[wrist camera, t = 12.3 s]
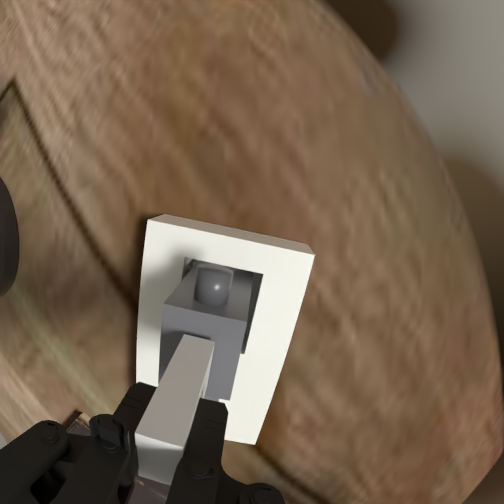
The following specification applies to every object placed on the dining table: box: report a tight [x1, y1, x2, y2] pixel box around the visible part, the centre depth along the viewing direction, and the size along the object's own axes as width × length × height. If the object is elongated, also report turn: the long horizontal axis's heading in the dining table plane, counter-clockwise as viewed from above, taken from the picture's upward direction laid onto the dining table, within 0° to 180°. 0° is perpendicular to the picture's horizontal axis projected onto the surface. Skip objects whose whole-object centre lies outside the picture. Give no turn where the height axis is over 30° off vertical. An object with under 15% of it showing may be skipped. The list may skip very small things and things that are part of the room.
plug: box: [158, 260, 253, 401], centre depth 18 cm, size 4×7×9 cm, turn 169°
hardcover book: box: [66, 413, 171, 504], centre depth 30 cm, size 16×23×2 cm
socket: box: [136, 214, 315, 444], centre depth 22 cm, size 11×18×4 cm, turn 168°
